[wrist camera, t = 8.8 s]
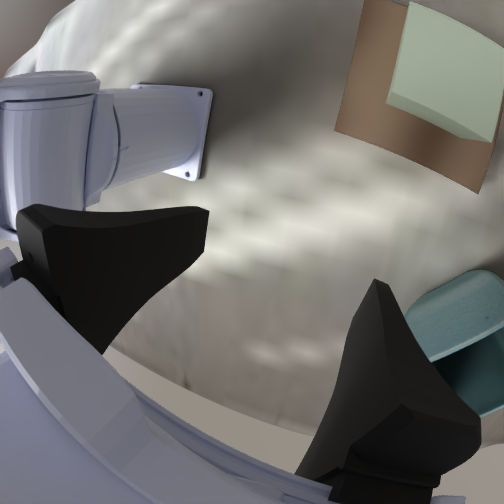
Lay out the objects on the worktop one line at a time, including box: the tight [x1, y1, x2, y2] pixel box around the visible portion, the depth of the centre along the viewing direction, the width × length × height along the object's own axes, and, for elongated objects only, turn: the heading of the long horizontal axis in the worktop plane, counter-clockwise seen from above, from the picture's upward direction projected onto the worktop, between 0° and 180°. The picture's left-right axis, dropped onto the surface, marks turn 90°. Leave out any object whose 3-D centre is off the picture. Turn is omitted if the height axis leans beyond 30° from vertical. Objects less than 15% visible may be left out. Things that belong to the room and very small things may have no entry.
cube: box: [386, 1, 504, 143], centre depth 9 cm, size 5×5×5 cm
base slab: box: [334, 0, 504, 194], centre depth 12 cm, size 10×10×2 cm
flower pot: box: [404, 270, 504, 418], centre depth 14 cm, size 9×9×9 cm
